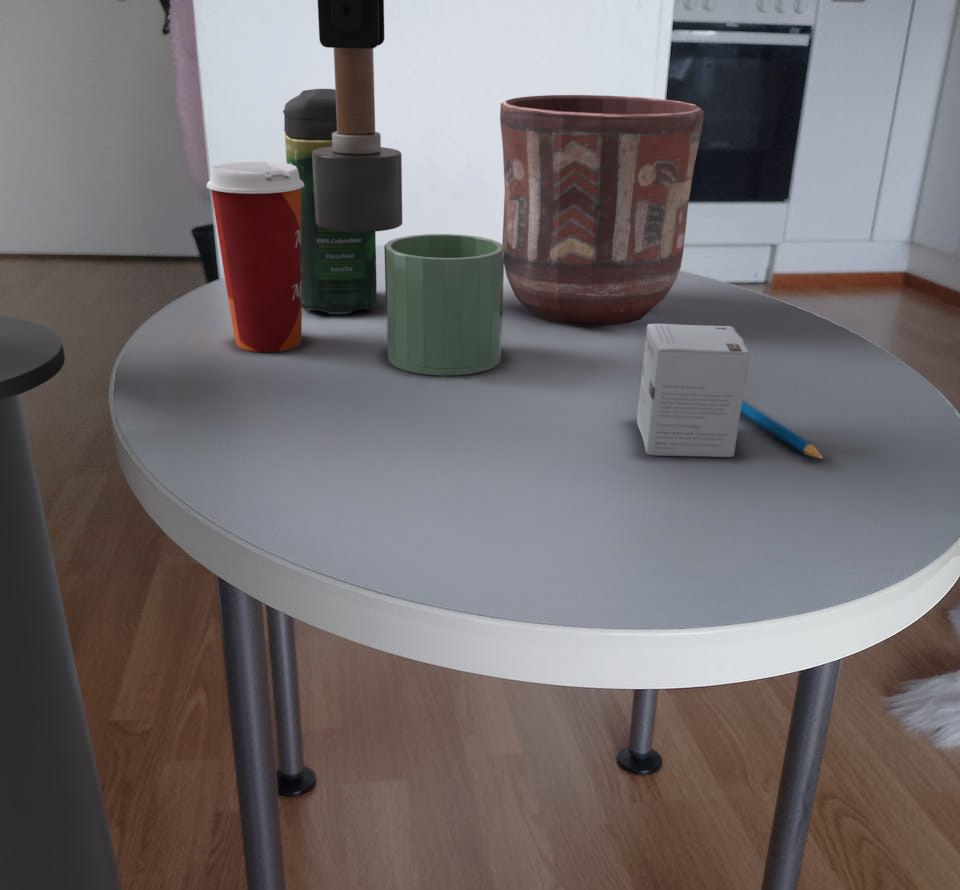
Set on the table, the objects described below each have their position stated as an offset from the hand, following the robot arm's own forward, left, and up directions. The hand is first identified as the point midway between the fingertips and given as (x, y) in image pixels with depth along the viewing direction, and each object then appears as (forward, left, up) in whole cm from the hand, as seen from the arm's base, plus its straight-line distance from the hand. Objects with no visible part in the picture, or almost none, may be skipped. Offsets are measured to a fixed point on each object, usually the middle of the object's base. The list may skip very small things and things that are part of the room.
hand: (352, 43), depth 61 cm
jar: (+14, +16, -24) cm, 32 cm away
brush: (0, 0, -10) cm, 10 cm away
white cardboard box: (+21, -8, -24) cm, 33 cm away
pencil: (+28, -7, -24) cm, 37 cm away
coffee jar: (+12, +36, -24) cm, 45 cm away
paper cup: (+2, +26, -24) cm, 36 cm away
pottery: (+33, +24, -24) cm, 47 cm away
